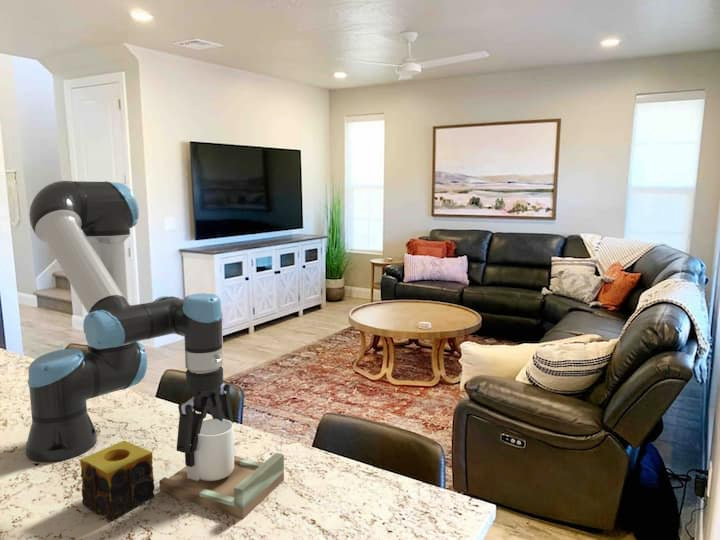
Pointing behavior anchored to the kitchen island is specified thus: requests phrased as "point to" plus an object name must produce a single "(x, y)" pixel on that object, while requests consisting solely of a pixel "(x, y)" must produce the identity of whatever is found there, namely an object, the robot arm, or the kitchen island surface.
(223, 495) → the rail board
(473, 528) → the kitchen island surface
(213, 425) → the cup
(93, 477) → the candle
